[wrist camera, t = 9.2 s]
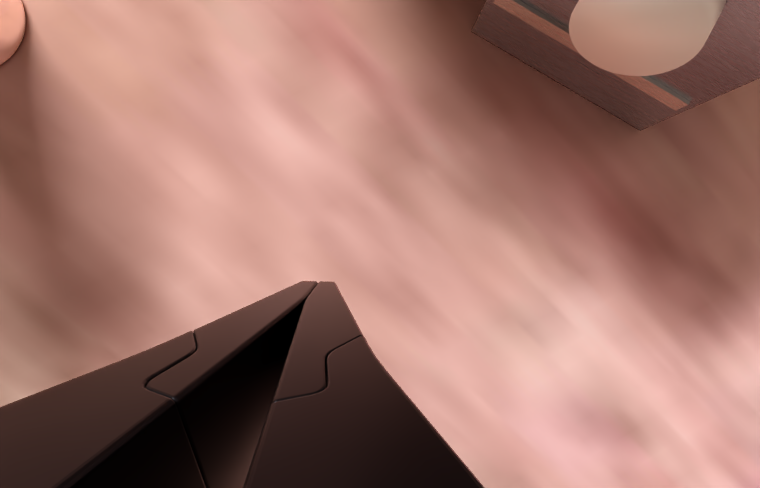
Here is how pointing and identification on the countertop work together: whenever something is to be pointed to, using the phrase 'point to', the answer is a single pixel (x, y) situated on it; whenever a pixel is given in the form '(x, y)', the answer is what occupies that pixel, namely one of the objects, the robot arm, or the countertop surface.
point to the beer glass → (11, 27)
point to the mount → (622, 92)
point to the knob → (642, 33)
